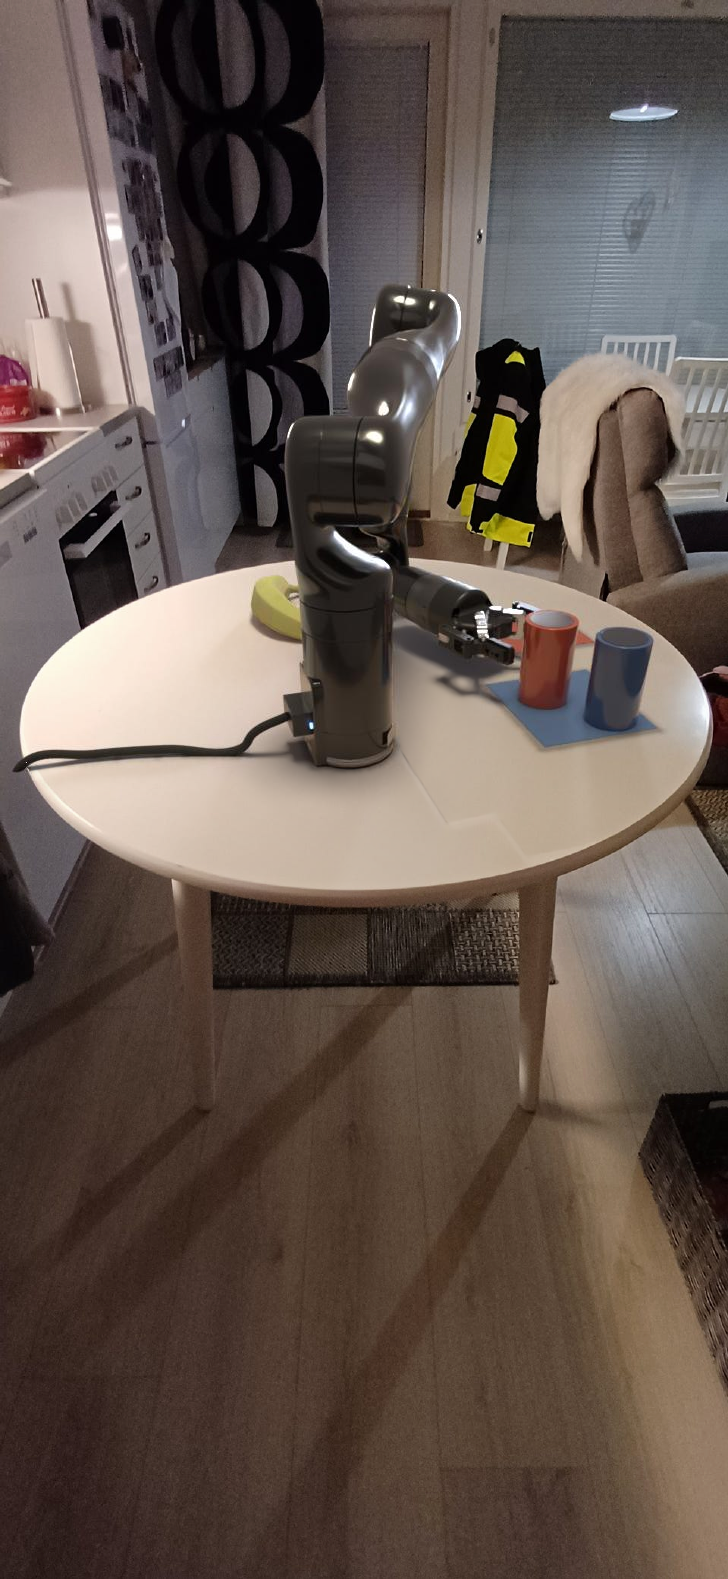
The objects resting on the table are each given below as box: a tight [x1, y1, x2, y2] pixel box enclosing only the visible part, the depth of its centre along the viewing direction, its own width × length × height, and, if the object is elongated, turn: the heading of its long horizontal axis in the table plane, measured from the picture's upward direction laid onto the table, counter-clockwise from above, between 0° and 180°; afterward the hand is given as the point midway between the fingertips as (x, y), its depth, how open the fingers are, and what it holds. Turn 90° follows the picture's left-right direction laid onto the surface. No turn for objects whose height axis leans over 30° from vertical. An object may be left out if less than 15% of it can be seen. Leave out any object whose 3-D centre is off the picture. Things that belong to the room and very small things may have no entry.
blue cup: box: [583, 626, 655, 731], centre depth 86 cm, size 6×6×10 cm
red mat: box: [499, 622, 595, 655], centre depth 111 cm, size 12×12×1 cm
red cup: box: [517, 609, 580, 710], centre depth 91 cm, size 6×6×10 cm
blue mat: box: [485, 669, 658, 748], centre depth 92 cm, size 14×16×1 cm
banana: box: [250, 574, 302, 641], centre depth 117 cm, size 14×6×20 cm
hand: (538, 647), depth 91 cm, fingers open, 8 cm apart
